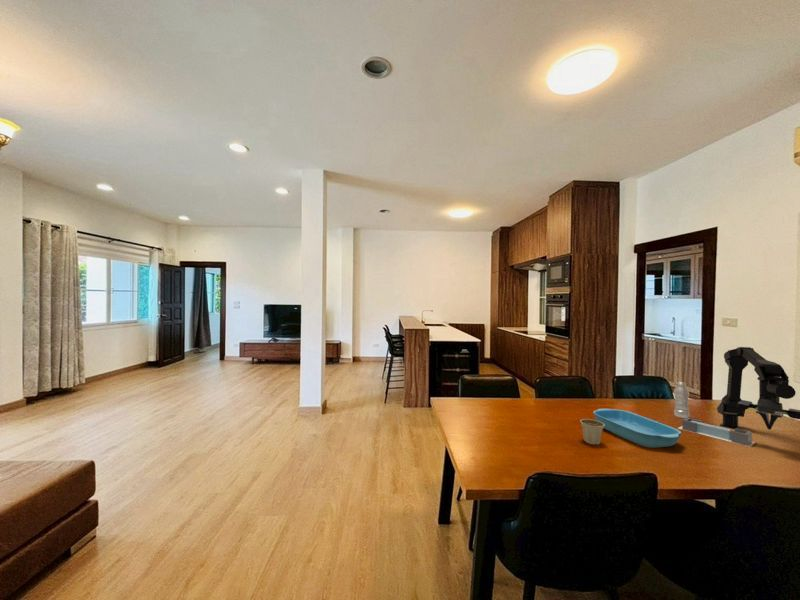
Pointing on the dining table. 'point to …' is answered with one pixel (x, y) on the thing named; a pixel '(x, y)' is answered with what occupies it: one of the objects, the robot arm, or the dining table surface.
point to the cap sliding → (741, 436)
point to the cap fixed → (690, 424)
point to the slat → (713, 430)
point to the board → (720, 438)
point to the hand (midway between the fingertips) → (769, 429)
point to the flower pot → (592, 431)
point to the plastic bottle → (681, 400)
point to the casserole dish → (637, 428)
